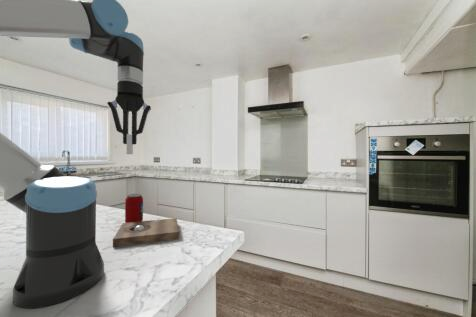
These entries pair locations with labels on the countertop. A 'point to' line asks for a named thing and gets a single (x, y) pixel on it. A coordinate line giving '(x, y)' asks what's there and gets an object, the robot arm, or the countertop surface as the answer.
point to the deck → (146, 232)
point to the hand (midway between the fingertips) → (129, 154)
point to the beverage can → (134, 208)
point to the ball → (139, 228)
